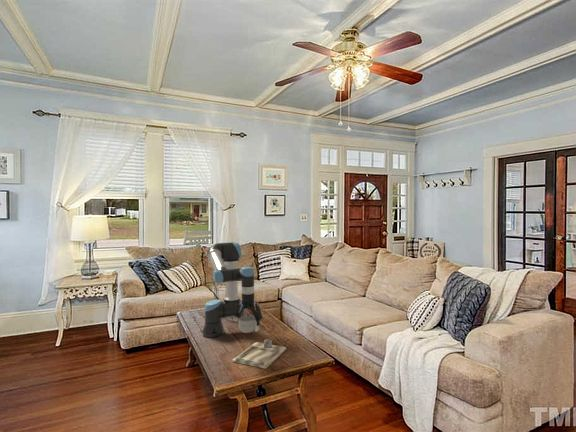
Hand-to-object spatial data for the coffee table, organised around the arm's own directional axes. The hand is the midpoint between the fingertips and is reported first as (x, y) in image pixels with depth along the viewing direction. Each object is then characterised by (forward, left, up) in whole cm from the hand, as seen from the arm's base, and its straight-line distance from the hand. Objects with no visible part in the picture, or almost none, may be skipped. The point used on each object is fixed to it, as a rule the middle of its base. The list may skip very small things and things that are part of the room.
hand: (248, 329), depth 198 cm
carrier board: (+5, +5, -17) cm, 18 cm away
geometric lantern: (-63, +63, -17) cm, 91 cm away
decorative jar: (-44, +56, -17) cm, 73 cm away
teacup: (+1, 0, -1) cm, 1 cm away
